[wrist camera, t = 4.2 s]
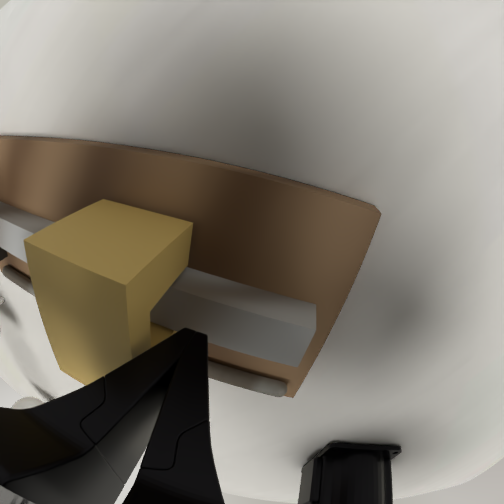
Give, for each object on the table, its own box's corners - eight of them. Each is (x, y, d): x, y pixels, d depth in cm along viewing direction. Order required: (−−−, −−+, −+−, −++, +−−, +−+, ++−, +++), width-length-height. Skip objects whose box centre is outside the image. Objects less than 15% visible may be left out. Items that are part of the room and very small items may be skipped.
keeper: (193, 223, 10) (125, 285, 6) (180, 343, 12) (141, 414, 8) (103, 198, 10) (23, 239, 6) (109, 314, 12) (60, 370, 9)
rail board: (374, 205, 9) (441, 300, 4) (294, 383, 14) (280, 483, 8) (-3, 135, 11) (-73, 158, 6) (9, 265, 15) (-43, 304, 10)
